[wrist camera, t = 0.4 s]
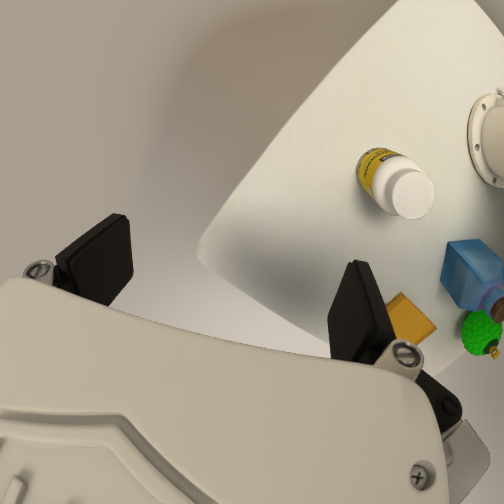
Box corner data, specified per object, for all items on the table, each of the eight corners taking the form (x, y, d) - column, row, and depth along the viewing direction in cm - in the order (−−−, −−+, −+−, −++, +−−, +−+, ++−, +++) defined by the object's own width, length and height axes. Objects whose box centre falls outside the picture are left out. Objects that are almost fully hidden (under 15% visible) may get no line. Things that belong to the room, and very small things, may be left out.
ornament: (481, 288, 31) (510, 328, 22) (493, 309, 33) (517, 346, 24) (447, 321, 35) (470, 365, 26) (462, 338, 36) (482, 378, 27)
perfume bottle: (447, 241, 29) (495, 295, 18) (479, 238, 28) (527, 286, 17) (440, 280, 31) (477, 338, 21) (470, 275, 30) (509, 327, 20)
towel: (350, 334, 38) (350, 336, 37) (400, 292, 33) (402, 294, 33) (391, 361, 40) (392, 363, 39) (436, 327, 35) (437, 329, 35)
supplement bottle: (381, 137, 24) (423, 149, 16) (407, 176, 26) (451, 203, 17) (345, 166, 27) (371, 190, 18) (373, 203, 28) (405, 241, 20)
